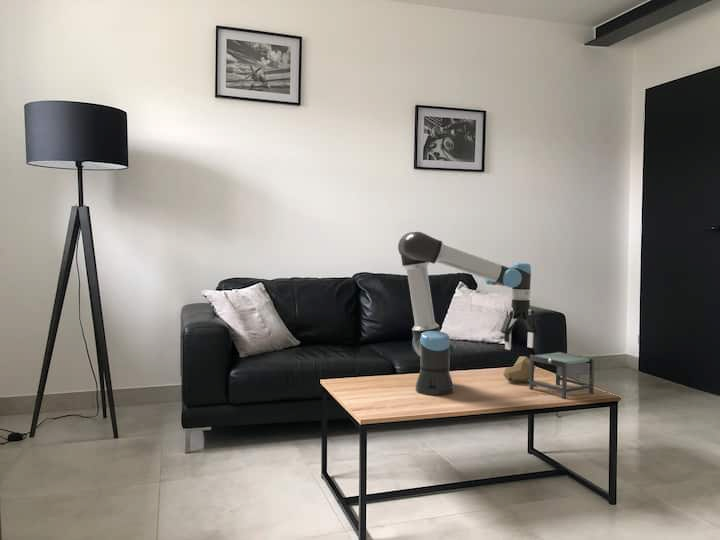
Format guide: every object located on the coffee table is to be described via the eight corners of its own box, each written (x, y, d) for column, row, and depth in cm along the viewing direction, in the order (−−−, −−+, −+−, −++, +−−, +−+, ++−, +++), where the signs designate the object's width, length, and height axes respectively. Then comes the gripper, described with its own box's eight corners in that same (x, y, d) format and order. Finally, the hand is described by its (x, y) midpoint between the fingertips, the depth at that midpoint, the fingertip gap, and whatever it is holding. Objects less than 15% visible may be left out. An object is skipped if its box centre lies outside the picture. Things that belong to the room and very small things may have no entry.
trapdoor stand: (563, 399, 228) (563, 362, 227) (528, 389, 243) (528, 354, 243) (594, 393, 237) (595, 358, 236) (558, 384, 253) (559, 351, 252)
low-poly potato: (539, 372, 261) (514, 363, 267) (540, 354, 254) (515, 345, 260) (525, 395, 252) (500, 385, 258) (526, 377, 245) (500, 368, 251)
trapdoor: (565, 377, 229) (565, 362, 229) (534, 369, 243) (534, 355, 243) (589, 373, 236) (589, 358, 236) (557, 366, 250) (557, 352, 250)
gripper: (505, 300, 245) (504, 351, 246) (547, 299, 258) (546, 347, 258) (493, 298, 252) (491, 348, 252) (534, 297, 264) (533, 345, 265)
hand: (519, 348), depth 255 cm, fingers open, 13 cm apart
